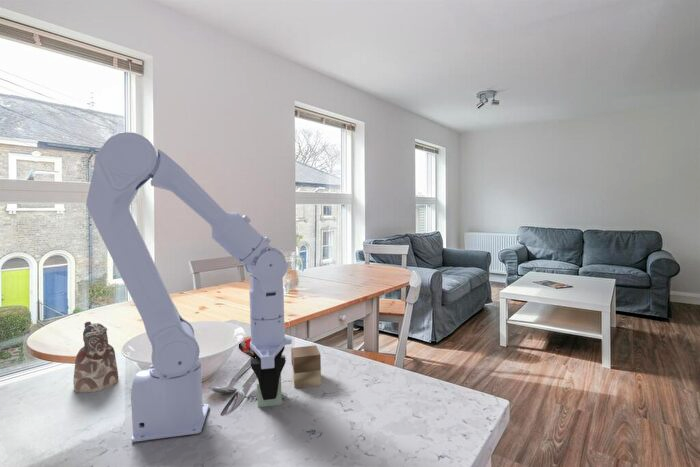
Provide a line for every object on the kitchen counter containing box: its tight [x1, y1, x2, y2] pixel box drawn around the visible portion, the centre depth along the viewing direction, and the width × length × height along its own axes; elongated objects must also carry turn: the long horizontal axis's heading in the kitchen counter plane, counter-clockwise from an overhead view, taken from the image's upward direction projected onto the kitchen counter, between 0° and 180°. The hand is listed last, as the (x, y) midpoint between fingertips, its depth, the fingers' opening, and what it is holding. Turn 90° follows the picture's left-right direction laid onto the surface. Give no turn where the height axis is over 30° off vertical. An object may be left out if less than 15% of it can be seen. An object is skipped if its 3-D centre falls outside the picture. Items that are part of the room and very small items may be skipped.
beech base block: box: [292, 369, 322, 389], centre depth 72 cm, size 5×5×3 cm
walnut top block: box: [290, 345, 322, 373], centre depth 72 cm, size 5×5×3 cm
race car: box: [238, 335, 256, 357], centre depth 87 cm, size 13×5×4 cm, turn 40°
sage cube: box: [256, 373, 283, 408], centre depth 65 cm, size 4×4×4 cm
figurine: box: [72, 321, 119, 393], centre depth 72 cm, size 7×7×12 cm
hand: (269, 391), depth 65 cm, fingers closed on sage cube, 4 cm apart
